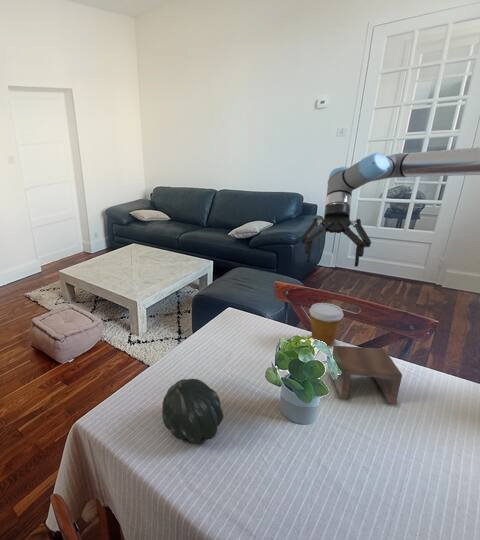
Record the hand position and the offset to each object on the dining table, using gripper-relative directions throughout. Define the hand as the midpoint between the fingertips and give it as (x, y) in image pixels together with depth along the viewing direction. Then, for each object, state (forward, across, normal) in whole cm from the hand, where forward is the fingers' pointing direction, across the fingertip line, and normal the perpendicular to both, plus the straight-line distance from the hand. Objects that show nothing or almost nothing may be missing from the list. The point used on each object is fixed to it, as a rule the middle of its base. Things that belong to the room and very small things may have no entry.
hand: (331, 263), depth 112 cm
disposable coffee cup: (+24, 0, -10) cm, 26 cm away
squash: (+61, +27, +27) cm, 72 cm away
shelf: (+38, -10, +5) cm, 40 cm away
